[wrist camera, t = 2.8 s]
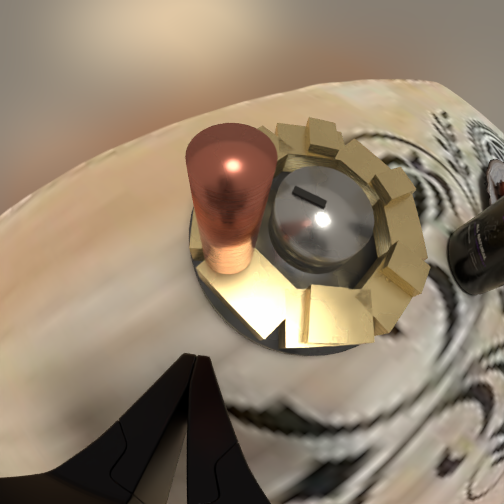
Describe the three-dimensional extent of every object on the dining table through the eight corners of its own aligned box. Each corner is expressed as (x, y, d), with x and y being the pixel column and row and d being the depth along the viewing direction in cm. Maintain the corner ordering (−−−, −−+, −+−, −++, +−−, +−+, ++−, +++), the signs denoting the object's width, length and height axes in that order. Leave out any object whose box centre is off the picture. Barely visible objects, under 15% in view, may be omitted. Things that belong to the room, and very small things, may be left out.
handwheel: (433, 238, 18) (513, 176, 9) (320, 398, 14) (427, 435, 5) (300, 119, 21) (327, 26, 12) (150, 221, 17) (98, 107, 8)
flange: (403, 355, 16) (446, 350, 12) (173, 341, 16) (154, 336, 11) (387, 173, 22) (411, 141, 18) (213, 142, 22) (212, 99, 17)
